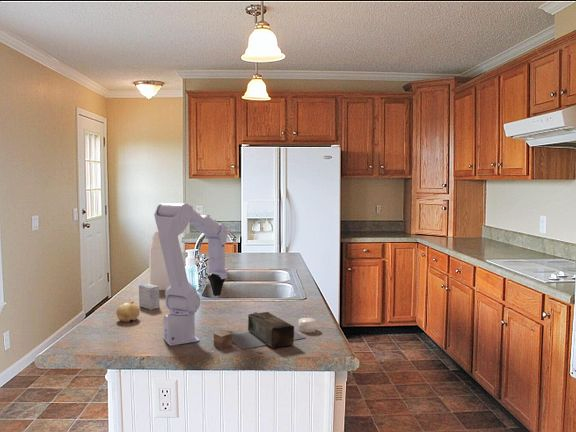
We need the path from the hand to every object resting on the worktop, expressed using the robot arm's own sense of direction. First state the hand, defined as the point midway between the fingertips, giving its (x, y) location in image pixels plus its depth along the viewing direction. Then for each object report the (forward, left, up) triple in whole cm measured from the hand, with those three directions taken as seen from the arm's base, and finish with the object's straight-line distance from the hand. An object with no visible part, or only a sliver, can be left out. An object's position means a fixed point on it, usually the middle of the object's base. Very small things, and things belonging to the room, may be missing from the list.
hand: (216, 295), depth 179 cm
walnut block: (-7, -23, -10) cm, 26 cm away
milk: (-2, +64, -10) cm, 65 cm away
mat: (+8, -22, -10) cm, 25 cm away
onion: (-27, +18, -10) cm, 34 cm away
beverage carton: (+9, -24, -10) cm, 27 cm away
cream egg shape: (+24, -22, -10) cm, 34 cm away
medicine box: (-16, +32, -10) cm, 37 cm away
